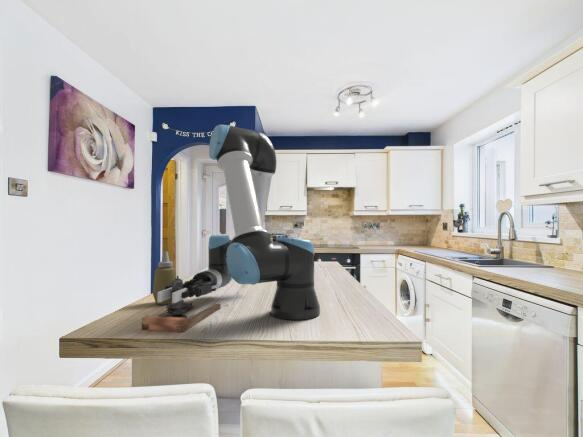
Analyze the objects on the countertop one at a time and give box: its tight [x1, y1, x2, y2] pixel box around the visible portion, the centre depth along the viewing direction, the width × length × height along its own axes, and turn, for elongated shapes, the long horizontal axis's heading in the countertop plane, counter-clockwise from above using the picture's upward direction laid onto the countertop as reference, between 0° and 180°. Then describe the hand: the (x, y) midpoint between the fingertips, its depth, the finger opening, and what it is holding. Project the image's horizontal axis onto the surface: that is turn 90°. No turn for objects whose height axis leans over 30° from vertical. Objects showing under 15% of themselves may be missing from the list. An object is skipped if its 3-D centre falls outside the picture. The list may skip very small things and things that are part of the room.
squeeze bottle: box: [152, 251, 177, 306], centre depth 106 cm, size 8×8×18 cm
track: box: [141, 301, 222, 333], centre depth 89 cm, size 12×23×3 cm, turn 170°
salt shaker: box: [165, 275, 188, 318], centre depth 86 cm, size 6×6×12 cm
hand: (166, 297), depth 80 cm, fingers closed on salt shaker, 4 cm apart
